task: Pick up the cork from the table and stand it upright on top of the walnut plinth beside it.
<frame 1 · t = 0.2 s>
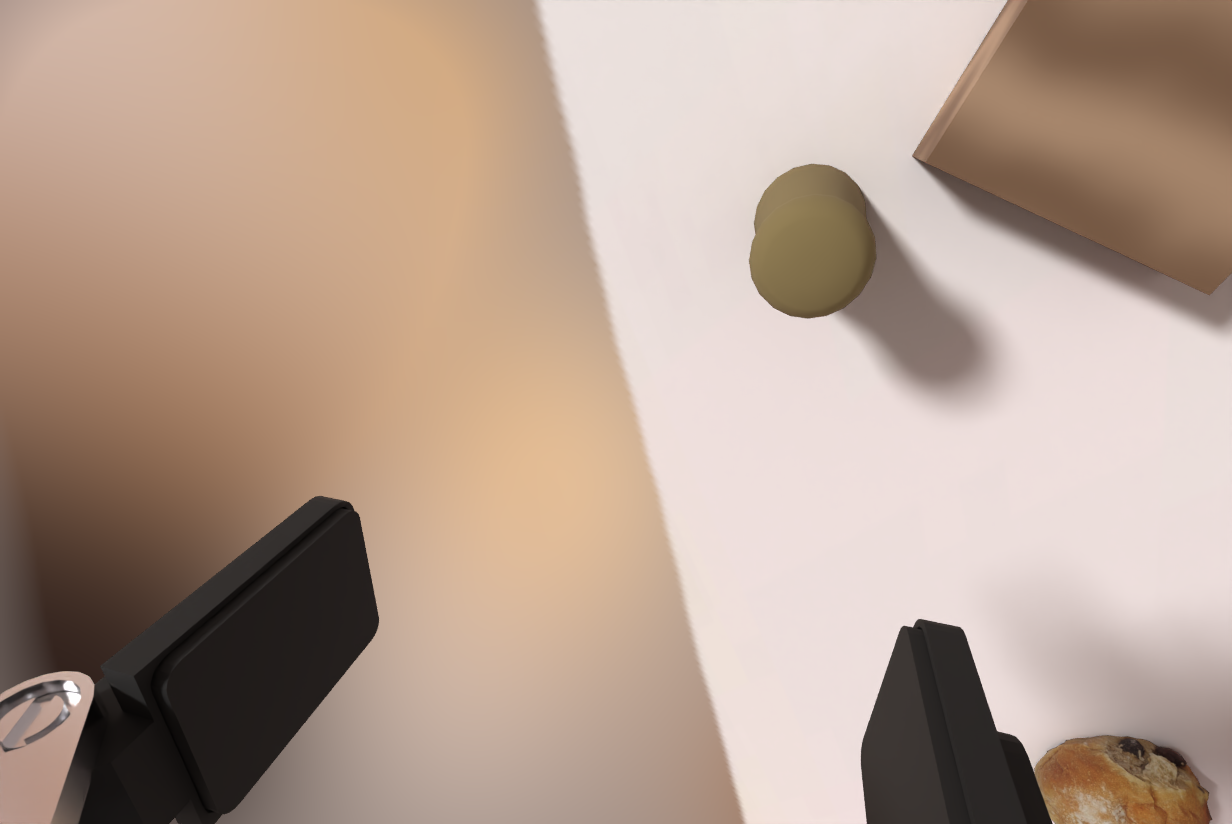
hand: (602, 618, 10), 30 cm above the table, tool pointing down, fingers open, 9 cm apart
walnut plinth: (1147, 68, 27), on the table
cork: (808, 220, 34), on the table
bread roll: (1107, 769, 46), on the table
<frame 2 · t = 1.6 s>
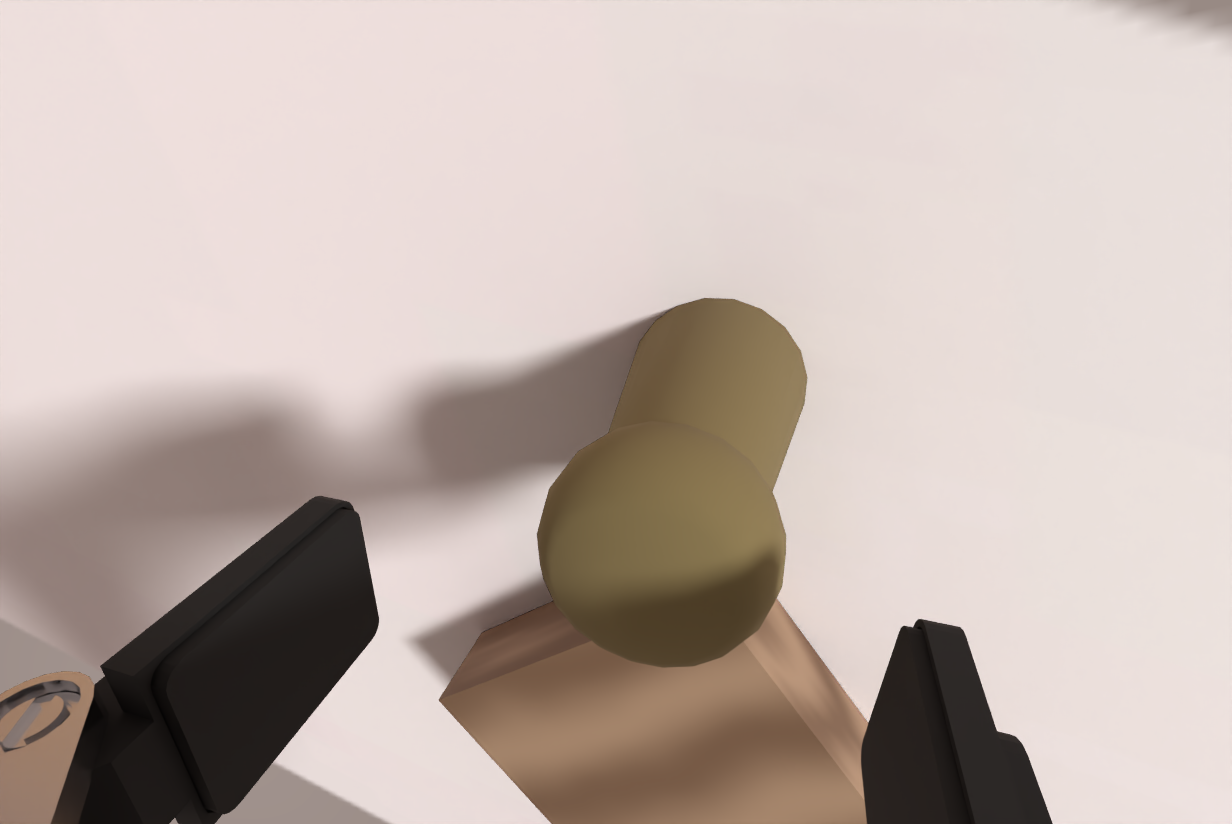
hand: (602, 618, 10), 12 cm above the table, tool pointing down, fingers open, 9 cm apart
walnut plinth: (678, 698, 28), on the table
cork: (716, 381, 21), on the table
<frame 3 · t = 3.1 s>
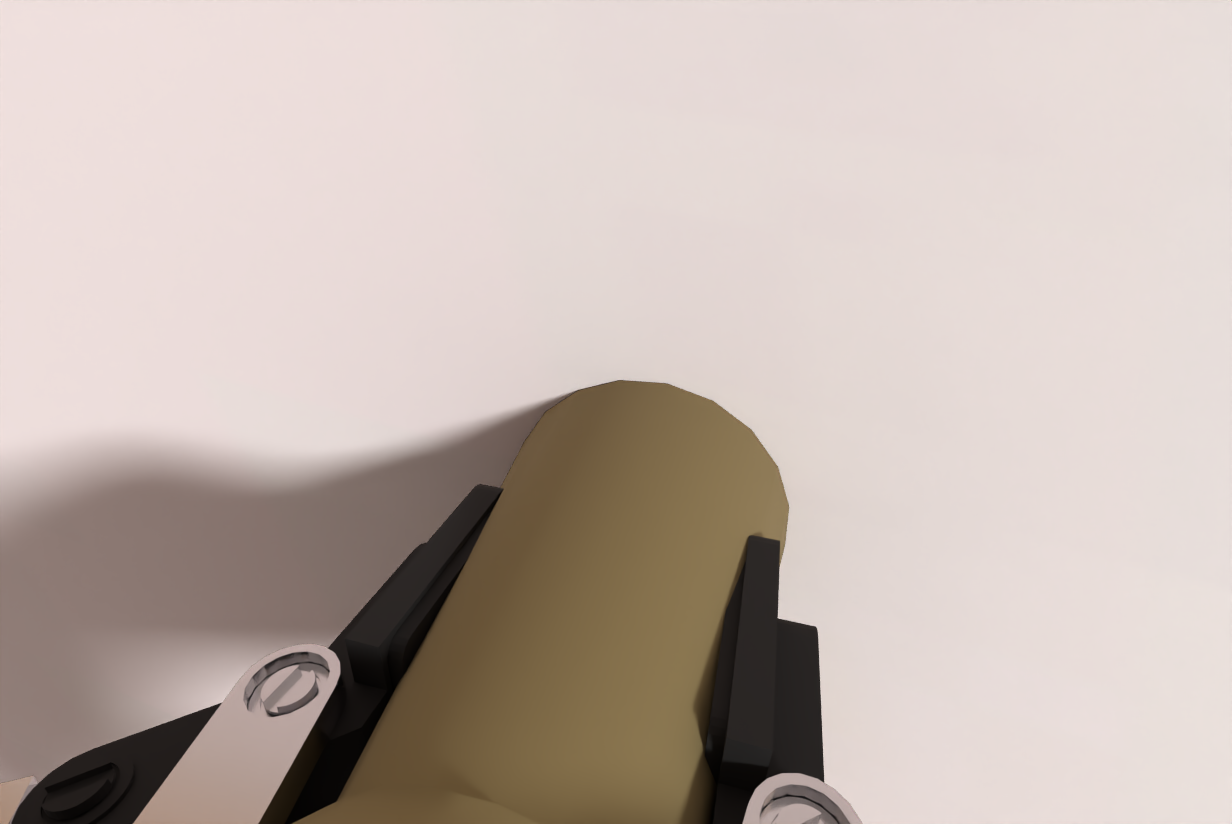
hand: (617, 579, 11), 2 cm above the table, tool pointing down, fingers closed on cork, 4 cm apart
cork: (647, 503, 13), on the table, touching gripper
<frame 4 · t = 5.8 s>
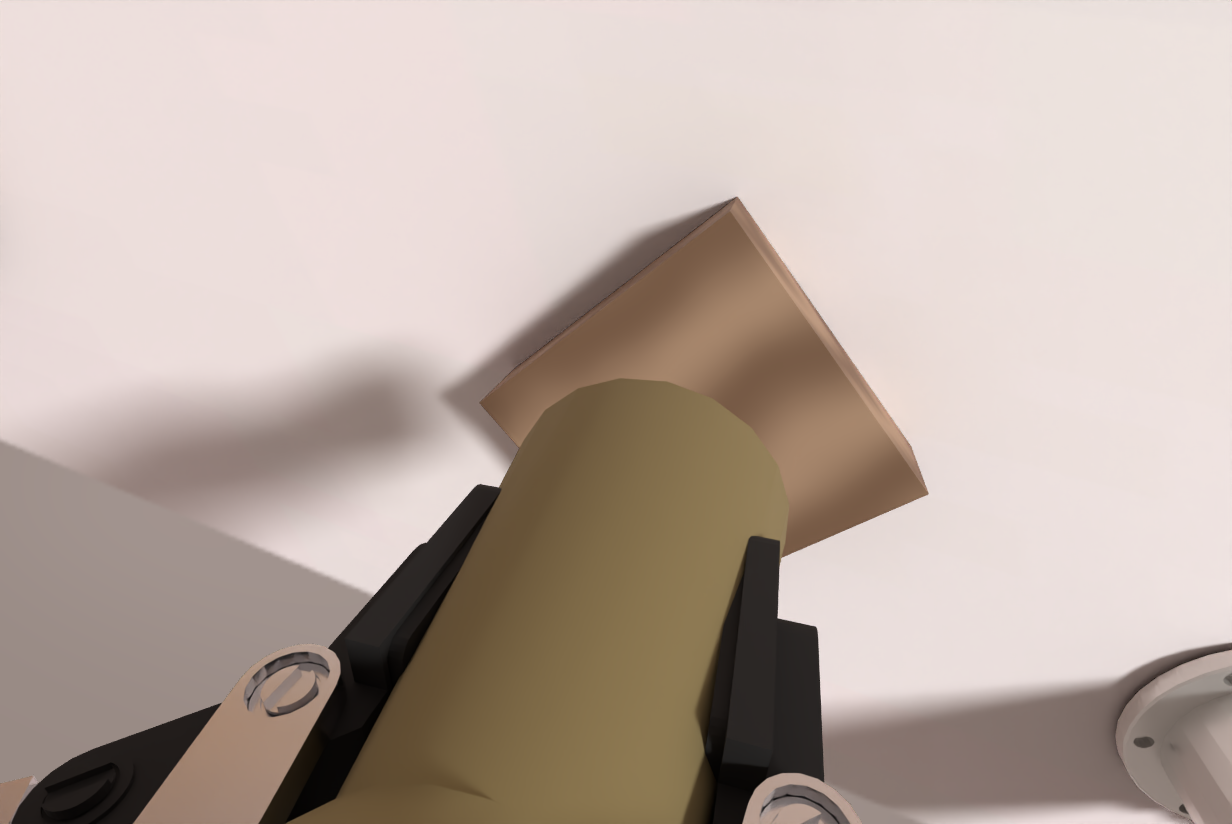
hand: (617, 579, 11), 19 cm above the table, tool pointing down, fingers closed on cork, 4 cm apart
walnut plinth: (700, 406, 30), on the table
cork: (647, 501, 13), point 16 cm above the table, touching gripper
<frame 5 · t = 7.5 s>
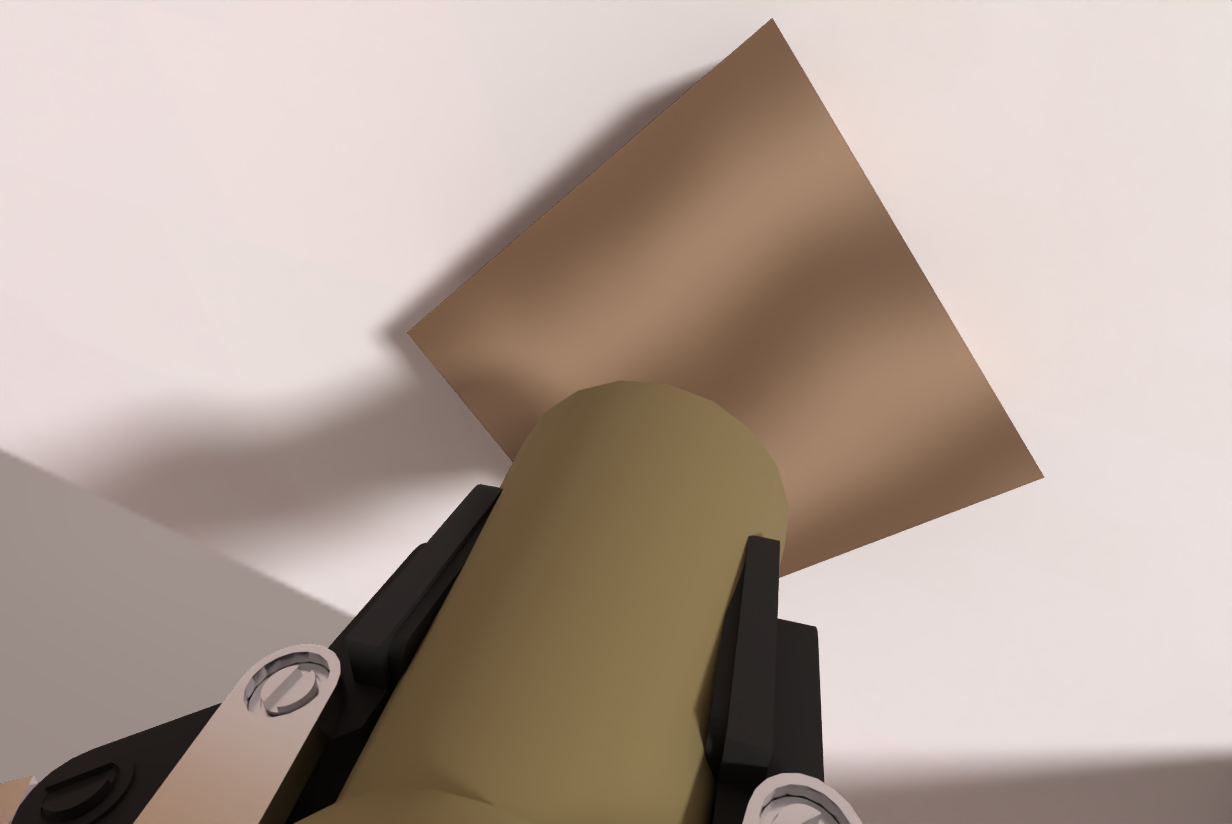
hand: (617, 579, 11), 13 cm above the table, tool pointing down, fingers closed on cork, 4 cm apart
walnut plinth: (711, 353, 22), on the table
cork: (647, 503, 13), point 10 cm above the table, touching gripper
when the fingers open (8 cm above the table, at t = 8.7 s): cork drops 1 cm, resting on walnut plinth.
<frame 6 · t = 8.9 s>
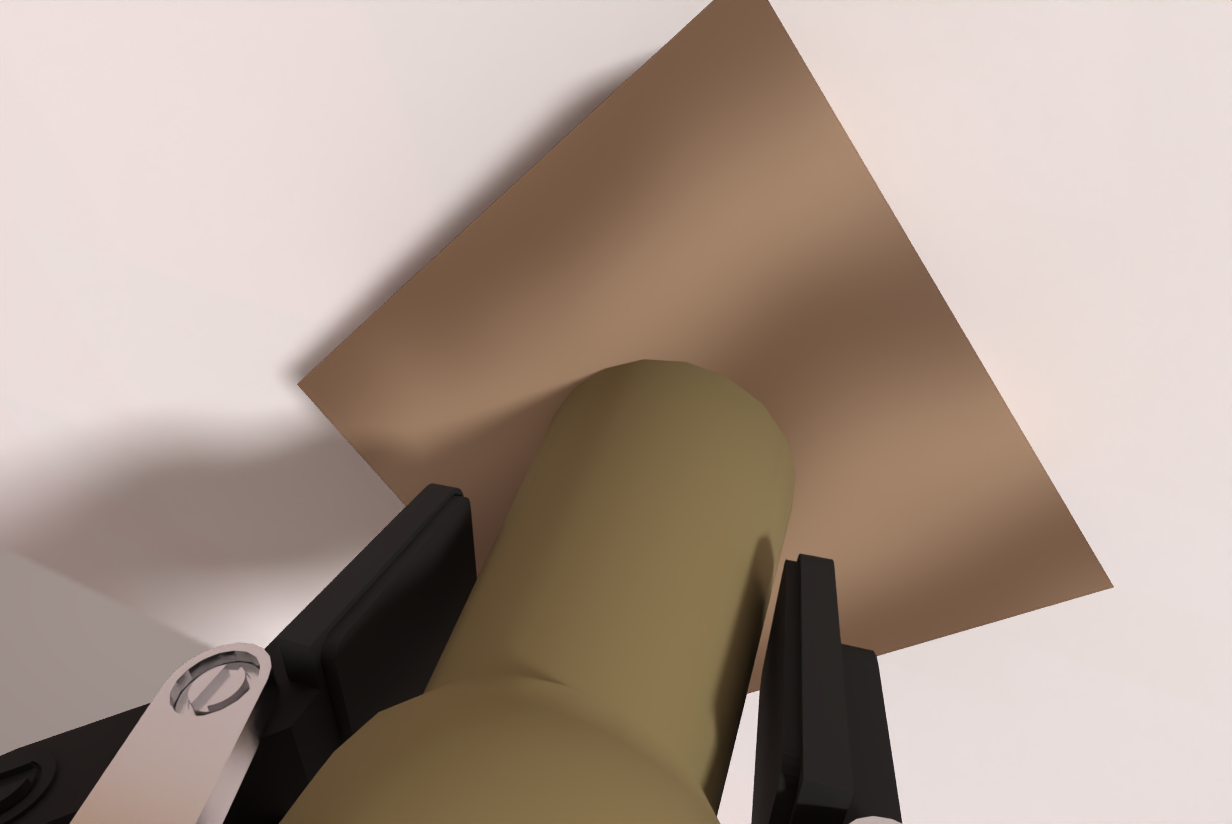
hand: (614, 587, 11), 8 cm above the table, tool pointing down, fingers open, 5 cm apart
walnut plinth: (683, 403, 18), on the table
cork: (665, 473, 15), point 4 cm above the table, touching walnut plinth
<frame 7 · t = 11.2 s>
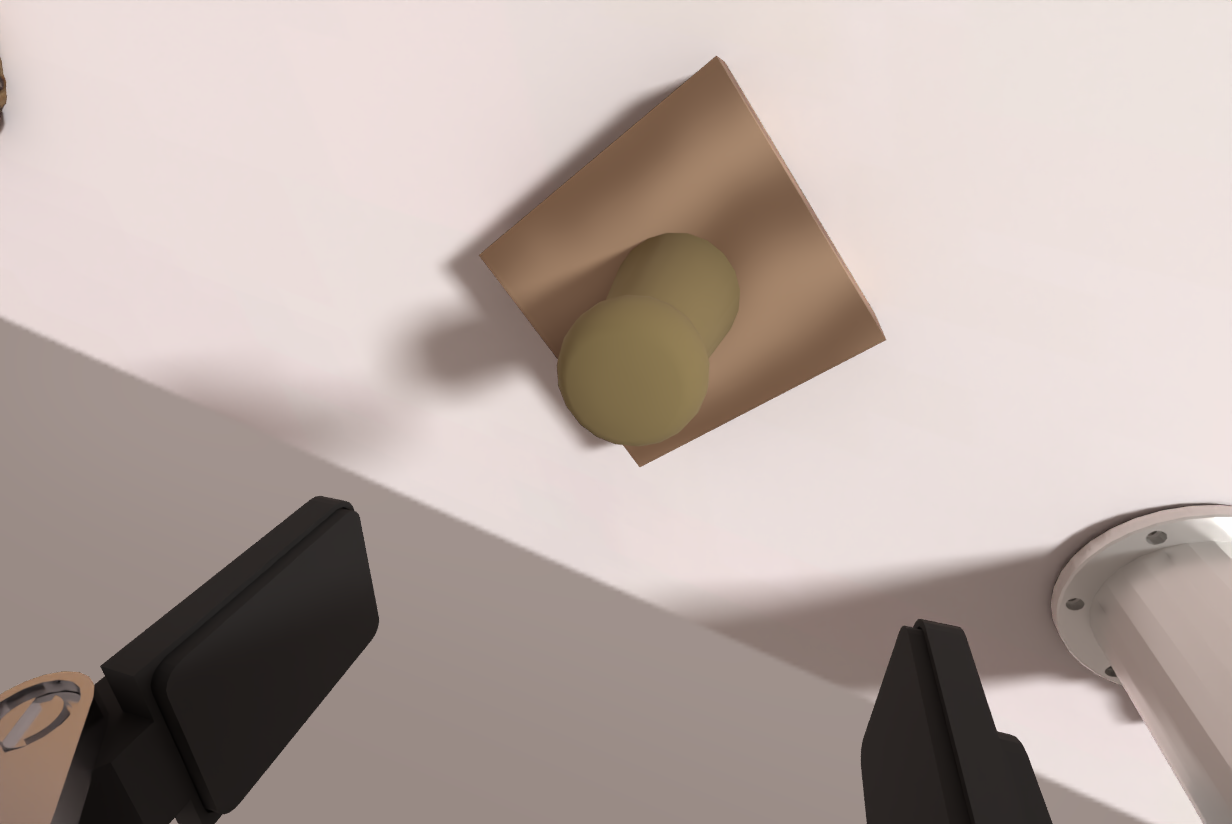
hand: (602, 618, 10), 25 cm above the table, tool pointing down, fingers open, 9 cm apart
walnut plinth: (684, 275, 32), on the table
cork: (676, 296, 29), point 4 cm above the table, touching walnut plinth
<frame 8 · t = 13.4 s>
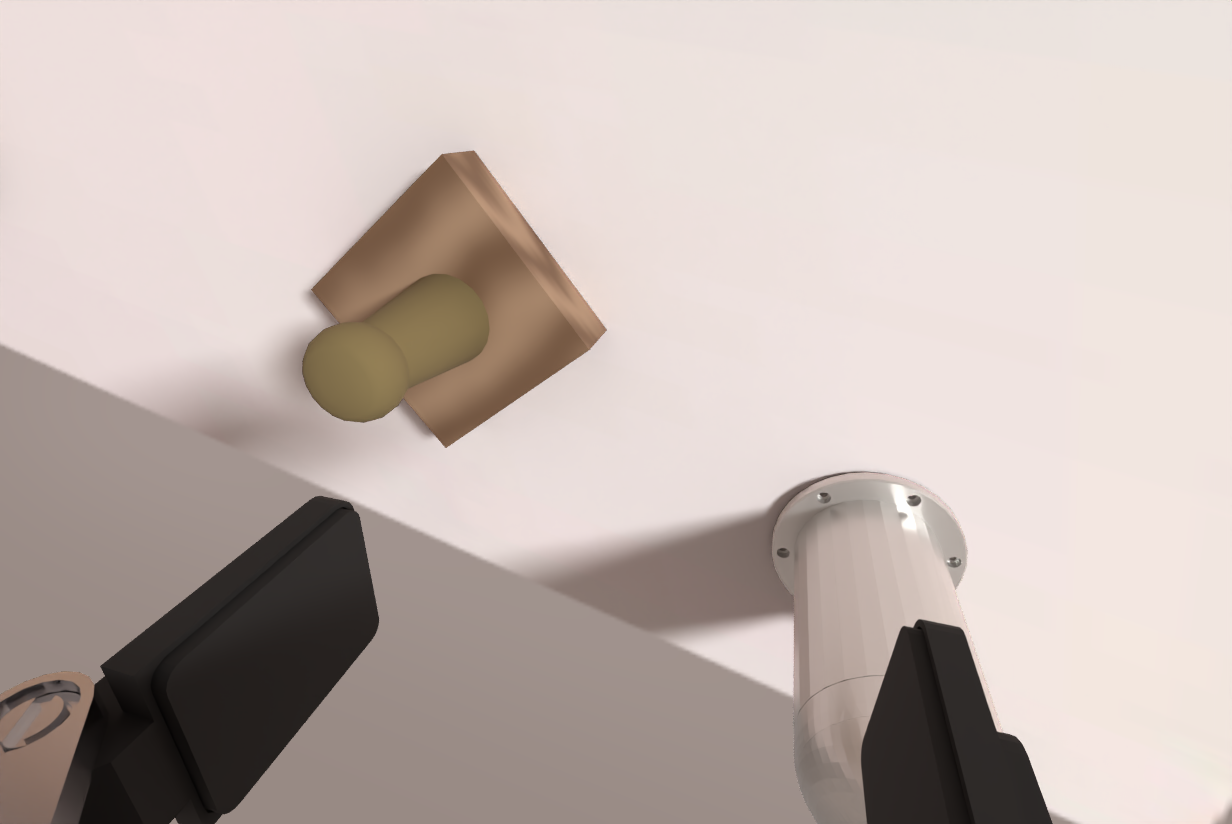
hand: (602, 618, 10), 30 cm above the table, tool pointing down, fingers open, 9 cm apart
walnut plinth: (472, 301, 43), on the table
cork: (448, 319, 39), point 4 cm above the table, touching walnut plinth
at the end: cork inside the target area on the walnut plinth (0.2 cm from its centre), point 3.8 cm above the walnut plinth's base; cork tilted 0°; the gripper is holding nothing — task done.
